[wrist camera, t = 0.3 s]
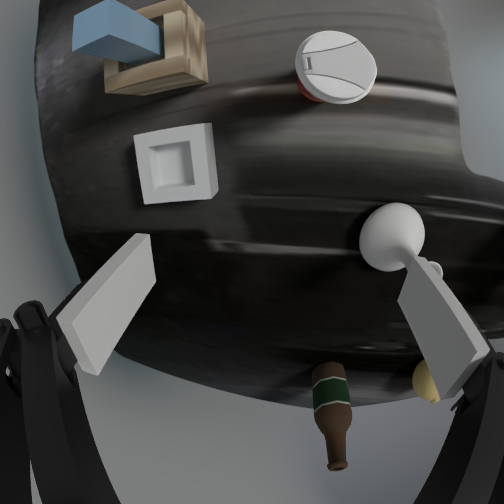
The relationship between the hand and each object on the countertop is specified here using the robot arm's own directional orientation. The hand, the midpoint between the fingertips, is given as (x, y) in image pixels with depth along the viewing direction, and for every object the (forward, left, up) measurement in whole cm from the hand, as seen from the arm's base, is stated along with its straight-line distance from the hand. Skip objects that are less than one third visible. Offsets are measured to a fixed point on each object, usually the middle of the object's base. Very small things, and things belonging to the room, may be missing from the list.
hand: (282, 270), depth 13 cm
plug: (-18, -14, -20) cm, 30 cm away
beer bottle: (+43, +10, -28) cm, 52 cm away
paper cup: (-12, +6, -28) cm, 31 cm away
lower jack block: (-2, -14, -28) cm, 31 cm away
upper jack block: (-18, -14, -28) cm, 36 cm away
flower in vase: (+11, +18, -28) cm, 35 cm away
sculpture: (+45, +37, -28) cm, 64 cm away
